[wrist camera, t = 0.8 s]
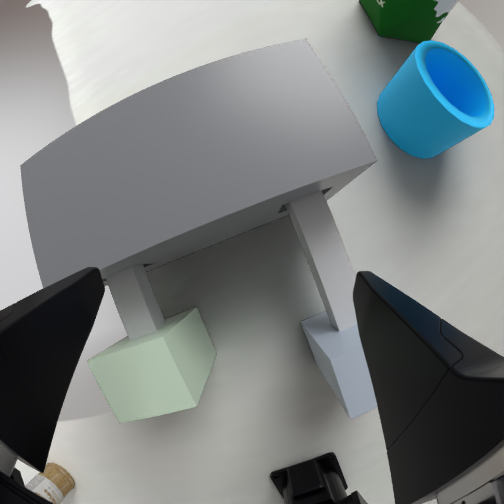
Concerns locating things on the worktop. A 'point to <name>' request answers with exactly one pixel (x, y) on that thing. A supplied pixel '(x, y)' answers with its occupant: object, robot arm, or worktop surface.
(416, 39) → the milk carton
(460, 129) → the mug
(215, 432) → the worktop surface
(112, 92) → the worktop surface
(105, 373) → the green key
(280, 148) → the grey curved block
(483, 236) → the worktop surface
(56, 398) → the robot arm
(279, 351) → the worktop surface
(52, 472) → the sprinkles bottle
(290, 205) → the grey key
